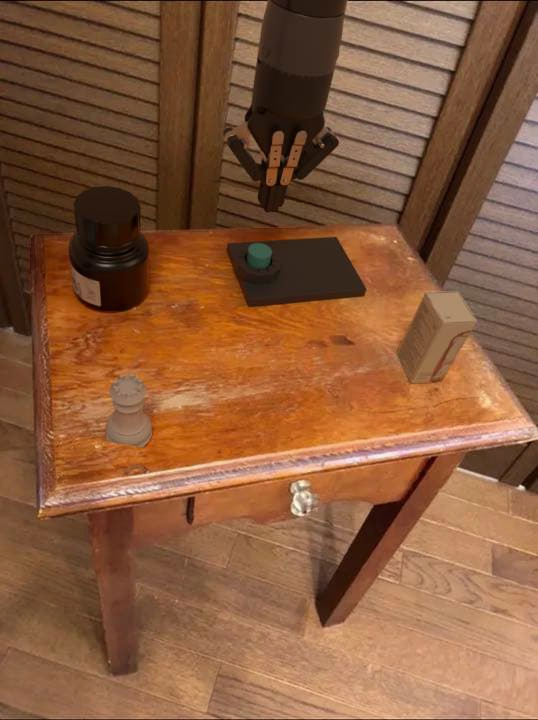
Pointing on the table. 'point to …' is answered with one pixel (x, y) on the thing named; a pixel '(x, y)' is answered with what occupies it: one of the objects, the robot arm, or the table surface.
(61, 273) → the table surface
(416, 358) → the beige upright block
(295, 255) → the black kitchen scale
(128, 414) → the rook chess piece
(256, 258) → the button
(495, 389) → the table surface
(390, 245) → the table surface
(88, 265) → the ink bottle
